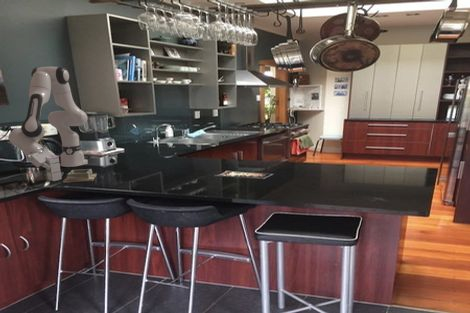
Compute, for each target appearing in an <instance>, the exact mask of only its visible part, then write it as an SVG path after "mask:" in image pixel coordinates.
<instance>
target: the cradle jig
mask: <svg viewBox="0 0 470 313" xmlns="http://www.w3.org/2000/svg"><path fill="white" fill-rule="evenodd" d="M97 174H98V173H93V170H92V168H87V169H86V168H85V169H82V168H81V169H71V171H70V172H68V173H67V174H66V177H65V179H64V180H63V181H62V183H64V184H65V183H66V184H67V183H80V182H82V183H83V182H92V181H94V180H95V178H96V177H97Z"/></svg>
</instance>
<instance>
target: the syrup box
mask: <svg viewBox="0 0 470 313" xmlns="http://www.w3.org/2000/svg"><path fill="white" fill-rule="evenodd" d="M45 158H46V159H47V161H46V162H45V163H46V164H47V165H48V166H51V167H52V168H51V169H50V170H48V169H47V168H45V172H46V180H47V181H50V182H55V181H60V180H62V173H61V166H60V164H61V163H60V159H59V155H55V156H54V155H51V156H46V157H45Z"/></svg>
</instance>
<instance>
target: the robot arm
mask: <svg viewBox="0 0 470 313" xmlns="http://www.w3.org/2000/svg"><path fill="white" fill-rule="evenodd" d="M69 81H70V73H69V71H68V69H67V68H65V67H63V66H37V67H34V68H33V69H32V71H31V80H30V85H29V92H28V97H29V98H28V99H29V104H28V107H27V109H28V110H27V114H26V118H25V120H24V121H23V122H22V123H21V127H18V128H17V127H16V128H14V129H12V130H11V131H10V132H9V134H8V137H7V138H8V141H9V142H10V143H11V144H12V145H14V147H16V148H17V149H19V150H20V151H22V153H23V154H24V155H25V156H26V157H27V159H28V161H29V162H30V163H31V164H32V165H33V166H34V167H37V168H39V167H42V168H45V169H46V168H47V169H48V170H50V169H51V168H52V167H51V166H48V165H47V164H46V163H45V162H46V161H47V159H46V158H45V157H46V156H51V155H54V156H56V154H55V153H54V152H53V151H51V150H50V149H49V148H48V147H47V146H46V145H45V144H40V143H37V142H38V141H40V140H41V139H43V138H44V136H45V134H46V130H45V127H43V125H42V123H41V120H40V119H41V113H42V108H43V105H45V104H47V103H48V102H49V100H50V97H51V91H52V96H53V100H54V103H55V105H57V106H58V107H61V108H63V110H55V111H51V112H50V113H49V114H48V115H47V122H48V123H49V125H50V126H52V127H54V128H55V129H56V130H57V132H58V133H59V135H60V140H61V144H62V146H61V151H62V152H61V153H60V163H59V164H60V167H65V168H70V167H71V168H72V167H73V168H75V167H79V166H84V165H88V159H86V157H85V156H84V155H85V154H84V152H83V151H82V147H81V146H82V145H81V144H80V136H79V134H78V133H77V132H76V131H73V130H72V129H71V127H81V126H84V125H86V124H87V122H88V118H89V117H88V115H87V113H86V112H85V111H84V110H82V109H80V107H78V106H77V105H76V102H75V101H74V98H73V95H72V90H71V86H70V83H69Z"/></svg>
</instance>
